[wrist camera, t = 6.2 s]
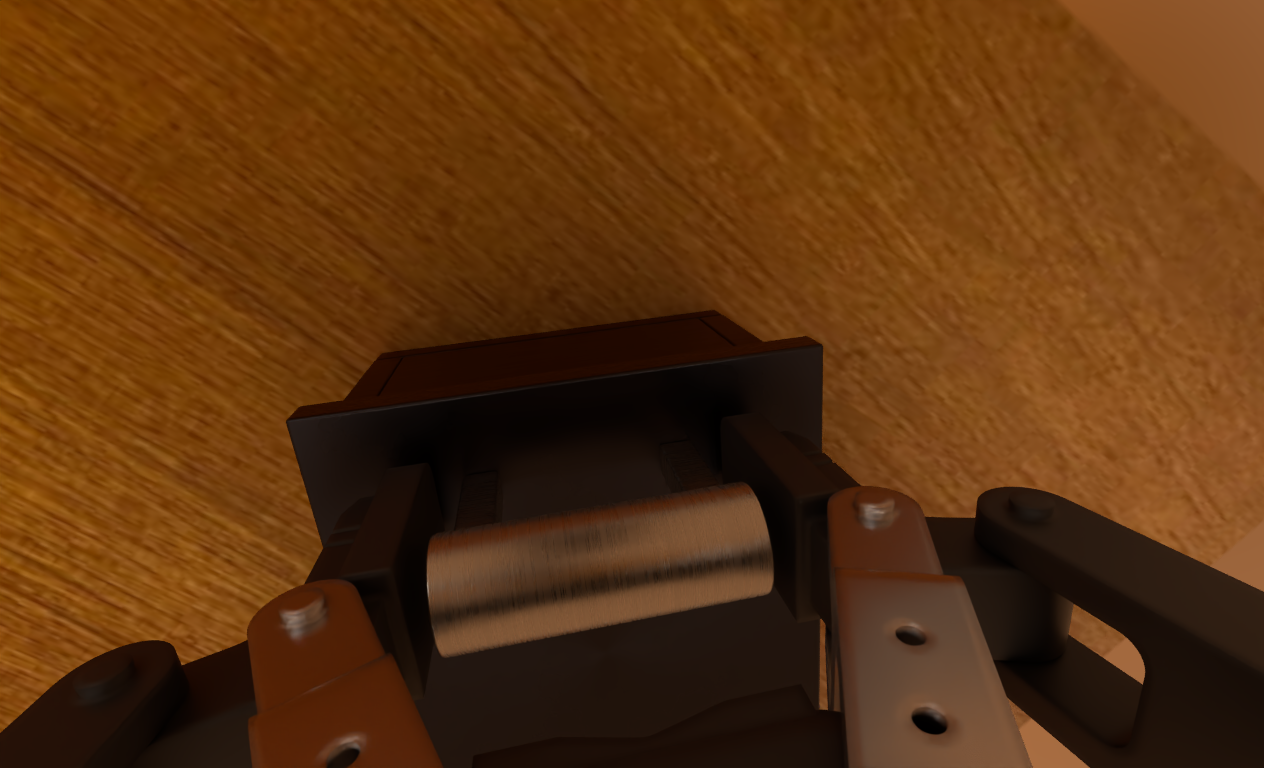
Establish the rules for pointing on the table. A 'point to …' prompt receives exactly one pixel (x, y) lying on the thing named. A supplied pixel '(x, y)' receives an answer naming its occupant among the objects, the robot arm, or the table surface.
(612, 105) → the table surface
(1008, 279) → the table surface
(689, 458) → the lid
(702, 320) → the dark brown box
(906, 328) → the table surface
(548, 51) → the table surface
